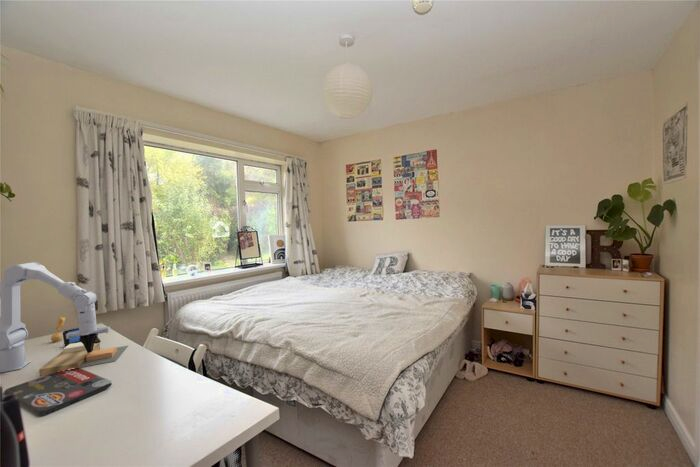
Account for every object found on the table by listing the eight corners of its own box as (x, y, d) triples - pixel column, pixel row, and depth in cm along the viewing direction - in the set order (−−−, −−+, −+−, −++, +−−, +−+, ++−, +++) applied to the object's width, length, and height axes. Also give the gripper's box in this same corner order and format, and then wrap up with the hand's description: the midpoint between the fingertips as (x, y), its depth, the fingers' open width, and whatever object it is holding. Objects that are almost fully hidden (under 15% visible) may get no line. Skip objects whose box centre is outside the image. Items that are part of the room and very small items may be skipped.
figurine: (49, 341, 156) (47, 318, 155) (65, 337, 161) (62, 314, 160) (53, 344, 151) (51, 320, 150) (69, 340, 156) (67, 316, 155)
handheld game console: (66, 352, 141) (65, 336, 141) (63, 346, 148) (62, 331, 148) (101, 342, 151) (99, 328, 150) (96, 338, 158) (95, 323, 157)
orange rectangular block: (86, 361, 129) (85, 356, 129) (92, 355, 134) (91, 351, 134) (112, 356, 132) (111, 352, 132) (116, 351, 138) (116, 347, 138)
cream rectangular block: (63, 353, 133) (63, 348, 133) (70, 348, 138) (69, 343, 138) (89, 349, 136) (88, 344, 136) (94, 344, 142) (94, 340, 141)
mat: (79, 367, 124) (79, 367, 124) (96, 351, 139) (96, 350, 139) (115, 361, 128) (115, 360, 128) (127, 346, 144) (127, 345, 144)
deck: (39, 375, 118) (39, 369, 118) (67, 353, 139) (66, 348, 139) (78, 368, 123) (78, 362, 123) (99, 348, 143) (99, 342, 143)
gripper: (61, 326, 124) (64, 359, 125) (104, 320, 130) (107, 351, 130) (69, 321, 131) (72, 352, 131) (110, 315, 136) (113, 345, 137)
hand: (90, 351), depth 131 cm, fingers closed
